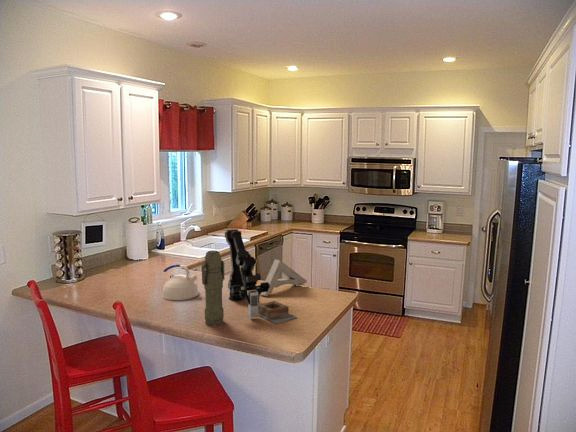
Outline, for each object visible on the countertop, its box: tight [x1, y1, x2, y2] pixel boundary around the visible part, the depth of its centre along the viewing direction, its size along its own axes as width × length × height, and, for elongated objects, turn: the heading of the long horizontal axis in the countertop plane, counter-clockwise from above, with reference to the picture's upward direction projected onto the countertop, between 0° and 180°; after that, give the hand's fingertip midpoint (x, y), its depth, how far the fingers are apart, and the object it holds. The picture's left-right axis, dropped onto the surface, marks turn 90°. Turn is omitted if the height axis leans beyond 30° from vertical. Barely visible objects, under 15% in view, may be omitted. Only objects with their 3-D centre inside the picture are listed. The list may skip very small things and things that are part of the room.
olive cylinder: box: [201, 250, 226, 327], centre depth 216 cm, size 9×12×35 cm
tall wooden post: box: [247, 290, 259, 319], centre depth 222 cm, size 4×4×12 cm
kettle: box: [162, 264, 199, 301], centre depth 260 cm, size 20×21×18 cm
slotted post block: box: [258, 300, 298, 325], centre depth 228 cm, size 22×13×5 cm, turn 40°
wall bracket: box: [260, 258, 308, 298], centre depth 271 cm, size 22×4×30 cm
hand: (254, 304), depth 220 cm, fingers closed on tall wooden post, 4 cm apart
